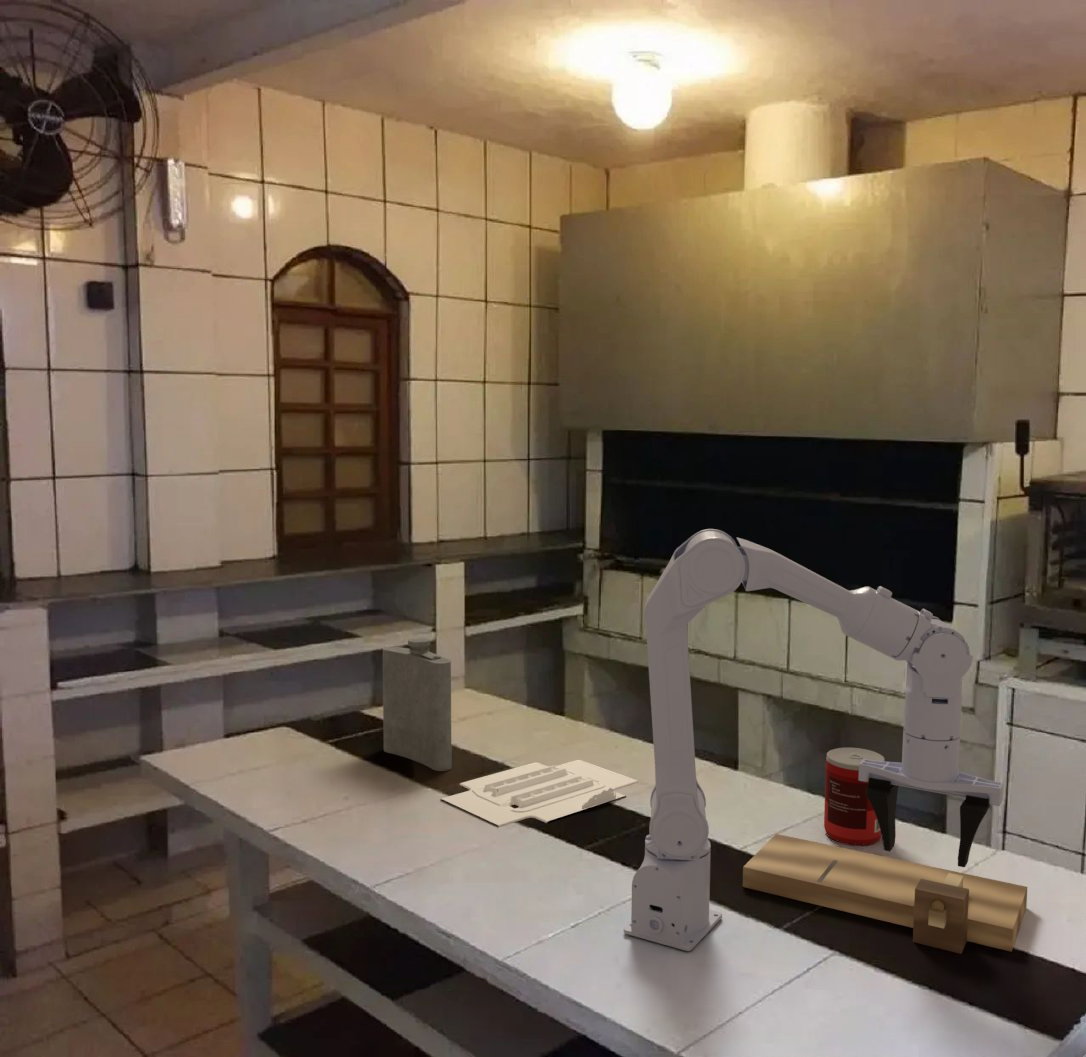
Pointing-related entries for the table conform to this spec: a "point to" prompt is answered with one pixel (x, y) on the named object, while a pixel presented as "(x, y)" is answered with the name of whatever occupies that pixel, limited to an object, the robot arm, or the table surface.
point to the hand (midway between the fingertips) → (925, 855)
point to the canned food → (849, 798)
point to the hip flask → (417, 704)
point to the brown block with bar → (941, 913)
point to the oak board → (879, 886)
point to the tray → (539, 791)
